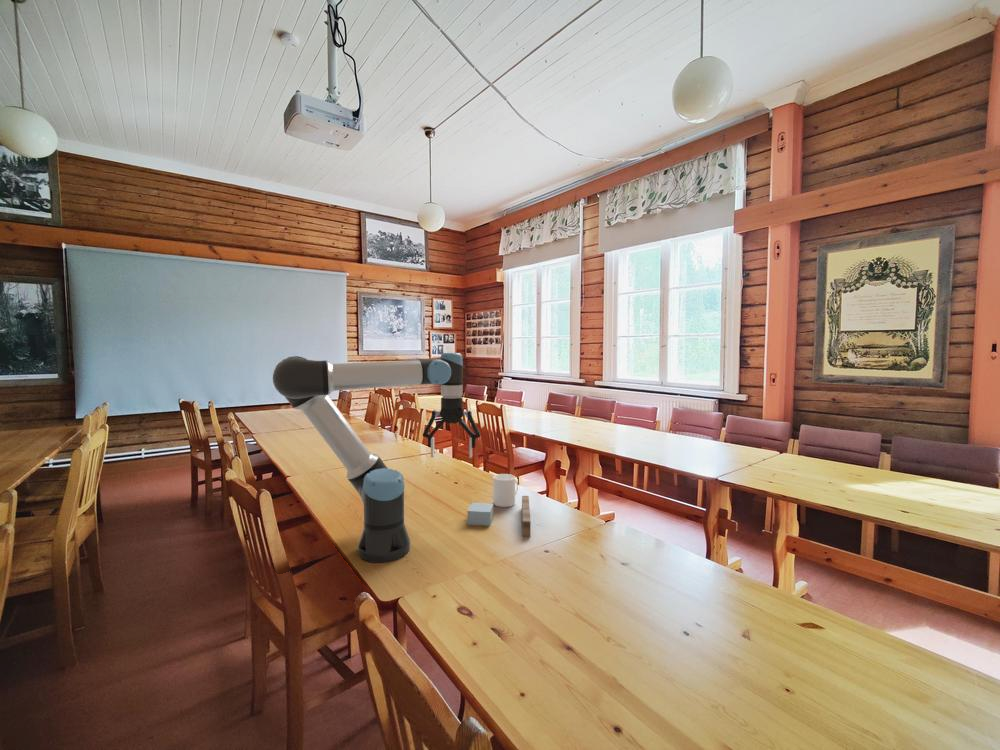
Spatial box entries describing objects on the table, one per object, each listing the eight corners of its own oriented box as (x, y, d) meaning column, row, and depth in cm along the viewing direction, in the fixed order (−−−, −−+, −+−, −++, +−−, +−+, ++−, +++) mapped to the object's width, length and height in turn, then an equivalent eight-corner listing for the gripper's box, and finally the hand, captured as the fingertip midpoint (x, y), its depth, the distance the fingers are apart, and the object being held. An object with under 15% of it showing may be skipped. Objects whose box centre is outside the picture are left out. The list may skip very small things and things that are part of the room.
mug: (525, 501, 170) (525, 475, 169) (503, 509, 161) (503, 481, 161) (510, 496, 176) (510, 470, 175) (488, 503, 168) (488, 476, 167)
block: (490, 526, 147) (490, 512, 146) (467, 525, 147) (467, 510, 147) (493, 517, 154) (493, 503, 154) (471, 516, 155) (471, 502, 155)
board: (530, 536, 138) (530, 521, 138) (522, 536, 138) (522, 520, 138) (528, 508, 162) (528, 495, 162) (521, 508, 162) (521, 495, 162)
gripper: (487, 396, 152) (487, 454, 154) (418, 395, 153) (418, 453, 154) (486, 398, 145) (486, 459, 146) (414, 397, 145) (414, 458, 147)
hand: (451, 456), depth 150 cm, fingers open, 13 cm apart
